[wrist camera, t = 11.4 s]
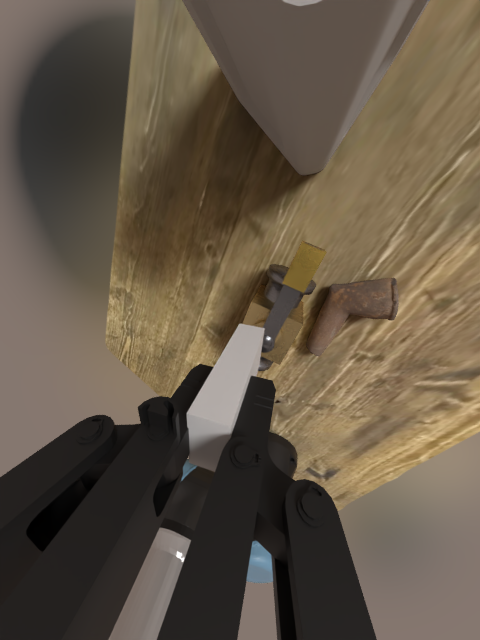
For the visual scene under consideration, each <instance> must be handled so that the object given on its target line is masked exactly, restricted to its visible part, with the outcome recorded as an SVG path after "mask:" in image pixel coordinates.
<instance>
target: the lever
mask: <svg viewBox="0 0 480 640" xmlns="http://www.w3.org/2000/svg"><path fill="white" fill-rule="evenodd" d="M326 253H327V252H326V251H325V250H323V249H321V248H319V247H316V246H314V245H312V244H309V243H307V242H305V241H303V240H302V242H301V244H300V246H299V249H298V251H297V253H296V255H295V257H294V259H293V261H292V263H291V265H290V267H289V269H288V271H287V273H286V275H285V277H284V279H283V282H282V283H283V284H284V285H283V287H282V289H281V291H280V293H279V295H278V297H277V299H276V301H275V303H274V305H273V307H272V309H271V311H270V313H269V315H268V317H267V319H266V321H265V323H264V325H263V327H262V328H265V330H264V337H263V344H262V350H261V352H262V353H267V352H270V351H272V350H273V348H274V344H275V340H276V337H277V335H278V333H279V331H280V329H281V328H282V326H283V324H284V322H285V320H286V319H287V317H288V315H289V313H290V311H291V310H292V308H293V306H294V304H295V302H296V301H297V299H298V297H299V295H300V293H301V292H303V293H304V292H305V290H306V288H307V287H308V285H309V283H310V281H311V279H312V278H313V276H314V274H315V272H316V270H317V269H318V267H319V265H320V263H321V262H322V260H323V258H324V256H325V254H326Z"/></svg>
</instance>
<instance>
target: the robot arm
mask: <svg viewBox="0 0 480 640" xmlns="http://www.w3.org/2000/svg"><path fill="white" fill-rule="evenodd" d="M264 330H265V328H261V327H256V326H250V325H245V324H239V325H238V327H237V329H236V330H235V332H234V334H233V335H232V337H231V339H230V341H229V342H228V344H227V346H226V347H225V349H224V351H223V352H222V354H221V356H220V358H219V359H218V361H217V363H216V364H215V366H214V367H211V366H207V365H203V364H199V365H198V366H196V367H195V368H193V369H192V370H191V371H190V372H189V373H188V375H187V376H186V378H185V379H184V380H183V382H182V383H181V385H180V386H179V387H178V389H177V390H176V391H175V393H174V394H173V396H172V397H171V398H169V397H162V396H160V397H154V398H151V399H149V400H147V401H145V402H143V403H142V404H141V405H140V406H139V407H138V411H139V416H140V421H141V424H135V425H114V422H113V420H112V419H111V418H110V417H108V416H106V415H96V416H92V417H89V418H86V419H85V420H83V421H81V422H79V423H77V424H76V425H75V426H73V427H72V428H70V429H69V430H67V431H66V432H65V433H63V434H62V435H60V436H59V437H57V438H56V439H55V440H53V441H52V442H50V443H49V444H47V445H46V446H45V447H43V448H42V449H40V450H39V451H37V452H36V453H34V454H33V455H32V456H30V457H29V458H28V459H26V460H24V461H23V462H22V463H20V464H19V465H17V466H16V467H15V468H13V469H12V470H10V471H9V472H7V473H6V474H4V475H3V476H2V477H0V640H237V637H238V630H239V624H240V618H241V611H242V604H243V599H244V592H245V586H246V581H248V582H254V583H268V582H273V586H274V599H275V613H276V626H277V639H278V640H377V639H376V636H375V633H374V629H373V626H372V623H371V620H370V616H369V613H368V610H367V607H366V603H365V600H364V597H363V593H362V590H361V587H360V584H359V580H358V577H357V574H356V570H355V567H354V564H353V561H352V557H351V554H350V551H349V547H348V545H347V541H346V537H345V534H344V531H343V528H342V524H341V522H340V518H339V515H338V511H337V509H336V507H335V504H334V502H333V500H332V498H331V497H330V495H329V494H328V493H327V492H326V491H325V489H324V488H323V487H321V486H320V485H318V484H317V483H315V482H313V481H310V480H306V479H303V480H297V481H295V480H293V479H292V478H293V476H294V473H295V471H296V468H297V452H296V450H295V448H294V447H293V445H292V444H291V443H290V442H289V441H287V440H286V439H284V438H283V437H281V436H279V435H276V434H274V433H270V432H269V430H270V423H271V417H272V411H273V404H274V398H275V392H276V389H275V386H274V384H273V381H272V380H268V379H264V378H259V377H256V375H257V372H258V368H259V364H260V357H261V350H262V344H263V337H264ZM188 456H189V459H187V458H188Z"/></svg>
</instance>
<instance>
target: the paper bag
mask: <svg viewBox="0 0 480 640" xmlns="http://www.w3.org/2000/svg"><path fill="white" fill-rule="evenodd" d="M182 1H183V2H184V4H185V6H186V8H187V10H188V11H189V13H190V15H191V17H192V18H193V20H194V22H195V24H196V26H197V27H198V29H199V31H200V33H201V34H202V36H203V38H204V40H205V42H206V43H207V45H208V47H209V49H210V51H211V52H212V54H213V56H214V58H215V59H216V61H217V63H218V65H219V67H220V68H221V70H222V72H223V74H224V75H225V77H226V79H227V81H228V83H229V84H230V86H231V88H232V90H233V91H234V93H235V95H236V97H237V99H238V100H239V102H240V103H241V104H242V105H243V107H244V108H245V109H246V110H247V111H248V113H249V114H250V115H251V116H252V118H253V119H254V120H255V121H256V122H257V124H258V125H259V126H260V127H261V129H262V130H263V131H264V132H265V133H266V135H267V136H268V137H269V138H270V140H271V141H272V142H273V143H274V144H275V146H276V147H277V148H278V149H279V151H280V152H281V153H282V154H283V155H284V157H285V158H286V159H287V160H288V162H289V163H290V164H291V165H292V166H293V168H294V169H295V170H296V171H297V172H298V173H299V174H301V175H309V174H314V173H318V172H320V171H321V170H323V169H324V167H325V166H326V165H327V163H328V162H329V160H330V158H331V157H332V155H333V154H334V152H335V151H336V149H337V148H338V146H339V145H340V143H341V141H342V140H343V138H344V137H345V135H346V134H347V132H348V131H349V129H350V128H351V126H352V124H353V123H354V121H355V120H356V118H357V117H358V115H359V114H360V112H361V110H362V109H363V107H364V106H365V104H366V103H367V101H368V100H369V98H370V97H371V95H372V93H373V92H374V90H375V89H376V87H377V86H378V84H379V83H380V81H381V80H382V78H383V76H384V75H385V73H386V72H387V70H388V69H389V67H390V66H391V64H392V62H393V61H394V59H395V58H396V56H397V55H398V53H399V52H400V50H401V48H402V47H403V45H404V43H405V42H406V40H407V38H408V36H409V35H410V33H411V31H412V30H413V28H414V26H415V24H416V23H417V21H418V19H419V18H420V16H421V14H422V13H423V11H424V9H425V7H426V6H427V4H428V2H429V1H430V0H182Z"/></svg>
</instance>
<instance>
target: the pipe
mask: <svg viewBox="0 0 480 640" xmlns="http://www.w3.org/2000/svg"><path fill="white" fill-rule="evenodd" d="M397 311H398V289H397V281H396V279H395V278H390V279H378V280H369V281H360V282H353V283H348V284H332V285H331V286H330V288H329V293H328V296H327V298H326V300H325V302H324V304H323V306H322V308H321V310H320V312H319V315H318V318H317V320H316V322H315V325H314V327H313V329H312V331H311V333H310V336H309V338H308V340H307V343H306V346H307V348H308V349H309V350H310V352H311V353H313V354H314V355H316V356H320V355H321V354H322V353H323V352H324V350H325V349H326V348H327V346H328V345H329V344H330V342H331V341H332V340H333V338H334V337H335V335H336V334H337V332H338V331H339V330H340V328H341V327H342V325H343V324H344V322H345V320H346V319H347V317H348V316H349V315H350V314H352V315H357V316H362V317H366V318H371V319H388V320H394V319H395V317H396V315H397Z"/></svg>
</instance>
